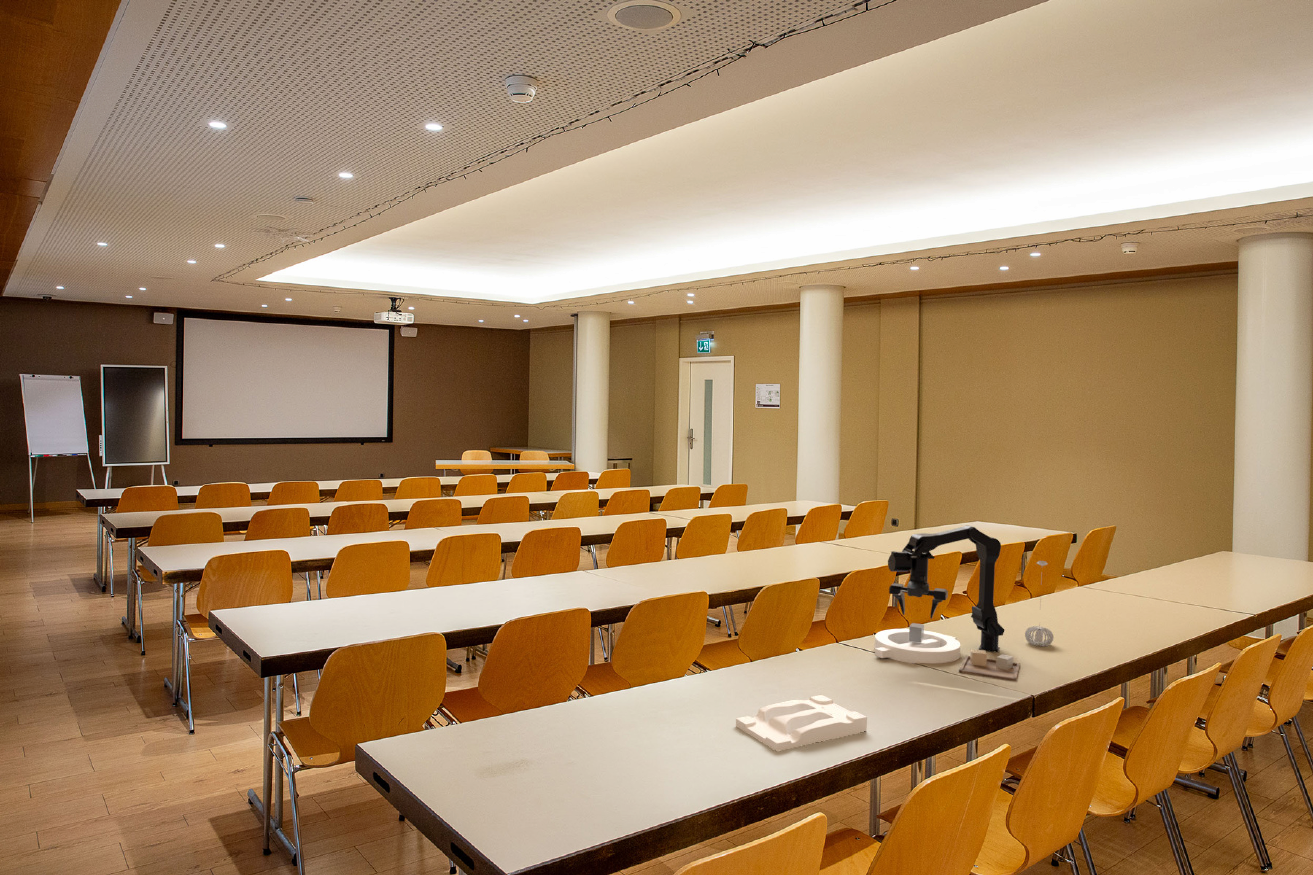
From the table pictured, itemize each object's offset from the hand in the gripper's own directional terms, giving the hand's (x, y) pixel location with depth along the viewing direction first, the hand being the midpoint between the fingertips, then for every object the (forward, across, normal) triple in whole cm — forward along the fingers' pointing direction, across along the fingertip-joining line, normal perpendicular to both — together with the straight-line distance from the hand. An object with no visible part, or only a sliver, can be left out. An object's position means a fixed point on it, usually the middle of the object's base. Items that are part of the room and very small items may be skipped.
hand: (917, 616), depth 287 cm
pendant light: (+12, +37, +33) cm, 51 cm away
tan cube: (+12, +20, -4) cm, 24 cm away
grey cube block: (+8, 0, 0) cm, 8 cm away
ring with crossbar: (+13, 0, 0) cm, 13 cm away
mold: (+13, -14, -87) cm, 89 cm away
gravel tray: (+12, +24, -8) cm, 29 cm away
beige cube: (+12, +28, -4) cm, 31 cm away
